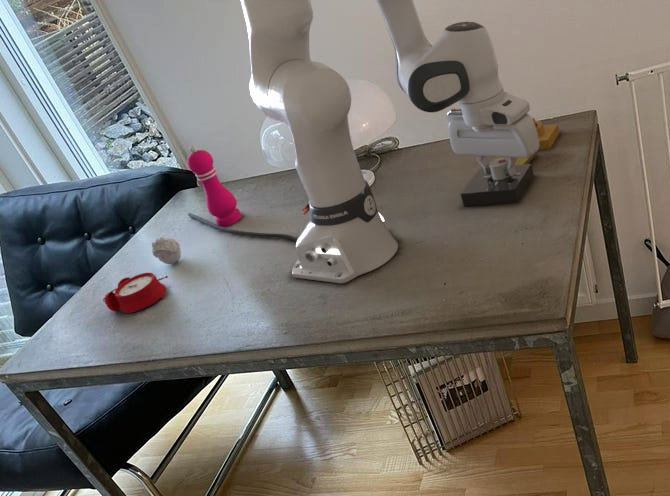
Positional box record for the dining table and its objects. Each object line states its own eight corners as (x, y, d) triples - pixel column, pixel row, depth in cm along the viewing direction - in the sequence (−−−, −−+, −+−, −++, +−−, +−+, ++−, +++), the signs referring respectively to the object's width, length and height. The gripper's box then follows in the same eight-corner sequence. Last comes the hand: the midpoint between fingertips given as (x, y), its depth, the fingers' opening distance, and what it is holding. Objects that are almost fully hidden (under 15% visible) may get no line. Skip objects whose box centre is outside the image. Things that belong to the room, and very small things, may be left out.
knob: (491, 181, 152) (488, 167, 150) (493, 173, 155) (489, 159, 154) (511, 177, 151) (507, 162, 149) (511, 169, 154) (508, 154, 153)
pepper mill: (242, 210, 189) (205, 135, 178) (244, 220, 184) (207, 143, 172) (215, 221, 189) (177, 147, 177) (217, 231, 183) (177, 155, 171)
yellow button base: (503, 153, 170) (499, 137, 168) (514, 138, 175) (511, 122, 173) (549, 148, 165) (546, 131, 163) (559, 133, 170) (556, 116, 168)
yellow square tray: (523, 174, 158) (521, 165, 157) (489, 174, 163) (486, 165, 162) (541, 155, 163) (539, 146, 162) (508, 156, 168) (506, 147, 167)
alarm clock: (145, 297, 155) (83, 290, 158) (154, 321, 159) (94, 314, 162) (171, 269, 162) (111, 263, 166) (179, 293, 166) (121, 287, 170)
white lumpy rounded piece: (157, 273, 173) (141, 247, 169) (167, 258, 178) (153, 233, 174) (180, 267, 171) (165, 241, 167) (190, 252, 177) (176, 227, 173)
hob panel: (464, 206, 154) (459, 193, 152) (482, 181, 161) (478, 168, 160) (518, 202, 148) (514, 188, 147) (534, 176, 156) (531, 162, 154)
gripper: (435, 115, 150) (453, 178, 158) (517, 116, 137) (532, 184, 145) (454, 102, 153) (471, 164, 161) (535, 101, 140) (550, 169, 148)
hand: (500, 174), depth 153 cm, fingers closed on knob, 4 cm apart
